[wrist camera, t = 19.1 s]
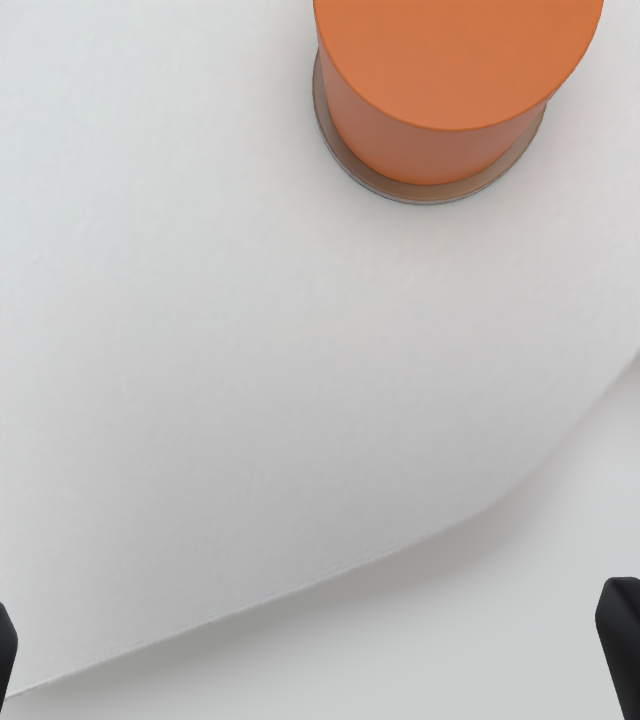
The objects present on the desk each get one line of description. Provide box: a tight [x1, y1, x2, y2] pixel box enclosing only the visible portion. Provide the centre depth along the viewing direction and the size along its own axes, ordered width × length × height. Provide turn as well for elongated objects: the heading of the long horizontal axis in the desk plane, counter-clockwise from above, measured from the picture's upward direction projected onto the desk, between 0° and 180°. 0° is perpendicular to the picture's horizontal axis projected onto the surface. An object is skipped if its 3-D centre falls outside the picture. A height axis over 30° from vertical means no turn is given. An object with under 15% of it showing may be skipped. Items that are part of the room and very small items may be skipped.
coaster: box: [312, 47, 547, 205], centre depth 18 cm, size 7×7×1 cm
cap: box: [313, 0, 604, 185], centre depth 15 cm, size 6×6×5 cm
